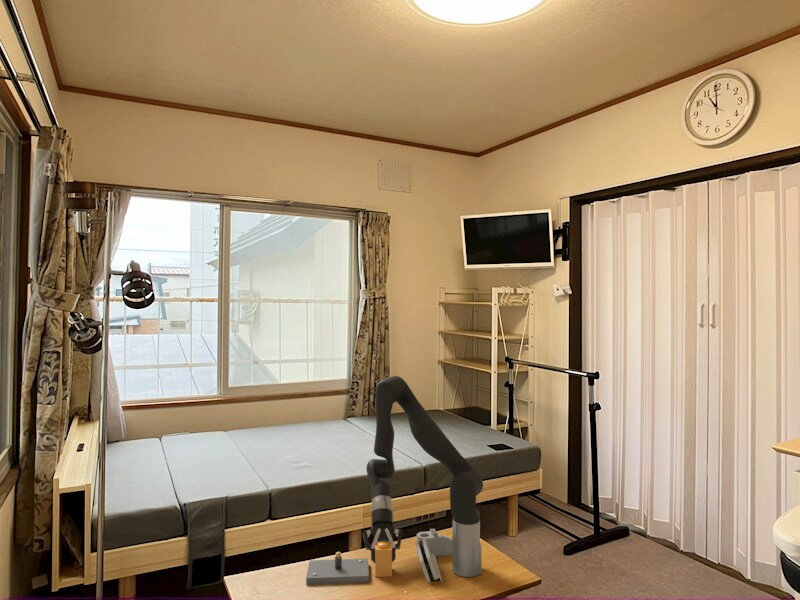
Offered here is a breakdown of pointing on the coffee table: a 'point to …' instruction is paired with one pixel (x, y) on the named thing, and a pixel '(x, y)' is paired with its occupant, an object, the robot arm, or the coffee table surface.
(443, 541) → the grey mounting bracket
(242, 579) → the coffee table surface
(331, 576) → the riveted grey base plate
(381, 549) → the orange dome-topped block
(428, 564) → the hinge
